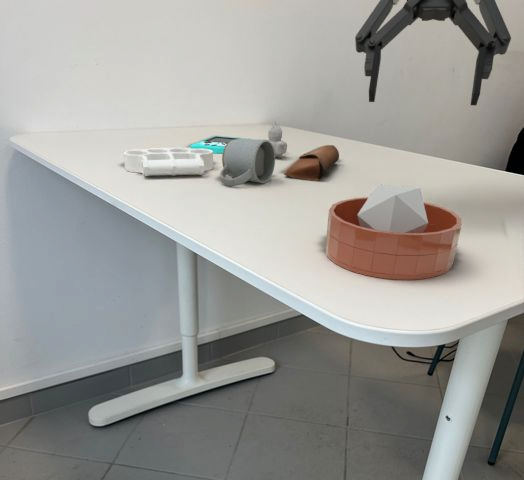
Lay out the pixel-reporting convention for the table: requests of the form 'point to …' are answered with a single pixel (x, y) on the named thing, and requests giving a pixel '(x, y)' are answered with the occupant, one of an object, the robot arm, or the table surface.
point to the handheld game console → (214, 144)
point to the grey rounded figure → (277, 140)
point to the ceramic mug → (247, 161)
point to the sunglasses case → (314, 163)
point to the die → (394, 210)
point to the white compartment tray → (168, 161)
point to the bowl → (392, 244)
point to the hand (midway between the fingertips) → (422, 98)
